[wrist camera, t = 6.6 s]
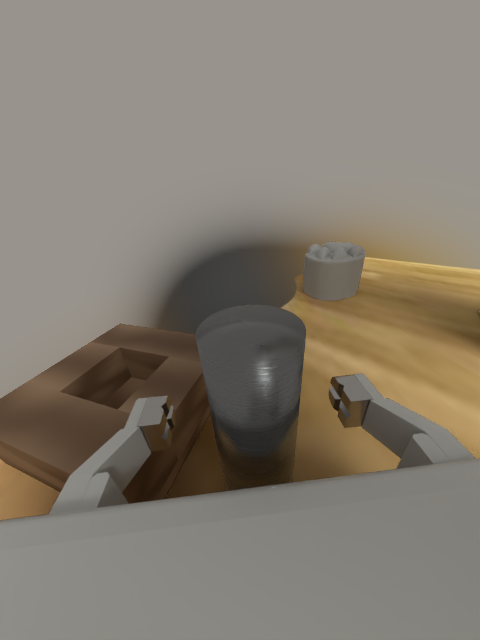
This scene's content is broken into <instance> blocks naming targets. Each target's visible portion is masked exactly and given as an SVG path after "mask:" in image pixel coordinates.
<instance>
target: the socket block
mask: <svg viewBox="0 0 480 640" xmlns="http://www.w3.org/2000/svg"><path fill="white" fill-rule="evenodd" d="M158 396H170V397H171V400H172V402H171V405H172V406H173V407H174V409H175V425H174V428H173V429H172V430H171V433H172V440H171V445H170V449H167V450H160V451H153V452H151V454H150V455H149V457H148V458H147V459H146V461H145V462H144V464H143V465H142V466H141V468H140V469H139V470H138V472H137V473H136V474H135V476H134V477H133V478H132V480H131V481H130V482H129V484H128V485H127V486H126V488H125V489H124V490H123V492H122V494H123V495H124V497H125V498H126V500H127V501H128V503H129V504H131V503H139V502H146V501H154V500H162V499H164V498H165V497H166V495H167V493H168V491H169V489H170V487H171V485H172V484H173V482H174V480H175V478H176V476H177V474H178V472H179V470H180V469H181V467H182V465H183V463H184V461H185V459H186V457H187V456H188V454H189V452H190V450H191V448H192V446H193V444H194V442H195V441H196V439H197V437H198V435H199V433H200V431H201V429H202V427H203V426H204V424H205V422H206V420H207V418H208V416H209V414H210V413H211V412H210V407H209V402H208V397H207V392H206V387H205V382H204V377H203V371H202V366H201V361H200V356H199V351H198V346H197V341H196V334H189V333H182V332H175V331H168V330H160V329H154V328H147V327H140V326H133V325H125V324H119V325H117V326H116V327H114V328H112V329H111V330H109V331H108V332H106V333H105V334H103V335H101V336H100V337H98V338H96V339H95V340H93V341H92V342H90V343H88V344H87V345H85V346H84V347H82V348H81V349H79V350H77V351H76V352H74V353H73V354H71V355H69V356H68V357H66V358H65V359H63V360H61V361H60V362H58V363H57V364H55V365H53V366H52V367H50V368H49V369H47V370H45V371H44V372H42V373H41V374H39V375H38V376H36V377H34V378H33V379H31V380H29V381H28V382H26V383H25V384H23V385H22V386H20V387H18V388H17V389H15V390H13V391H12V392H10V393H9V394H7V395H6V396H4V397H2V398H1V399H0V458H1V459H2V460H3V461H4V462H5V463H7V464H8V465H10V466H12V467H14V468H16V469H18V470H20V471H22V472H24V473H26V474H27V475H29V476H31V477H33V478H35V479H37V480H39V481H41V482H43V483H44V484H46V485H48V486H50V487H52V488H54V489H56V490H58V491H60V492H61V491H62V489H63V487H64V485H65V483H66V482H67V480H68V478H69V476H70V475H71V474H72V473H73V472H74V471H75V470H77V469H78V468H79V467H80V466H81V465H82V464H83V463H84V462H85V461H86V460H88V459H89V458H90V457H91V456H92V455H93V454H94V453H95V452H96V451H97V450H98V449H100V448H101V447H102V446H103V445H104V444H105V443H106V442H107V441H108V440H109V439H110V438H112V437H113V436H114V435H115V434H116V433H117V432H118V431H119V430H120V429H124V427H125V425H126V423H127V420H128V418H129V416H130V413H131V411H132V409H133V406H134V404H135V402H136V400H137V399H138V398H148V397H158Z"/></svg>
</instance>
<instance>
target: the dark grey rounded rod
mask: <svg viewBox="0 0 480 640" xmlns="http://www.w3.org/2000/svg"><path fill="white" fill-rule="evenodd" d="M305 339H306V328H305V325H304V323H303V322H302V321H301V319H300V318H298V317H297V316H296V315H294V314H293V313H291V312H289V311H287V310H284V309H281V308H278V307H273V306H267V305H242V306H236V307H231V308H227V309H224V310H221V311H219V312H216V313H214V314H212V315H211V316H209V317H208V318H206V319H205V320H204V321H203V322H202V323H201V324H200V325H199V327H198V329H197V332H196V341H197V346H198V351H199V356H200V361H201V366H202V371H203V377H204V382H205V387H206V392H207V397H208V402H209V407H210V412H211V417H212V422H213V427H214V432H215V437H216V442H217V447H218V452H219V457H220V462H221V467H222V472H223V477H224V482H225V487H226V491H231V490H239V489H246V488H254V487H262V486H269V485H277V484H285V483H292V479H293V468H294V457H295V447H296V436H297V425H298V414H299V403H300V393H301V382H302V371H303V360H304V349H305Z"/></svg>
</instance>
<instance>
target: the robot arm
mask: <svg viewBox="0 0 480 640" xmlns="http://www.w3.org/2000/svg"><path fill="white" fill-rule="evenodd" d="M478 312H479V313H480V309H479V311H478ZM330 383H331V384H332V387H331V388H330V389H329V400H330V402H331V405H332V407H333V408H334V409H335V410H337V411H338V418H339V419H340V421H341V423H342V425H343V426H344V428H349V427H359V426H362V428H363V429H365V430H366V431H367V432H368V433H370V434H371V435H372V436H373V437H375V438H376V439H377V440H378V441H380V442H381V443H382V444H383V445H385V446H386V447H387V448H388V449H390V450H391V451H392V452H393V453H395V454H396V455H397V456H398V457H400V458H401V460H400V462H399V464H398V466H397V468H396V469H393V470H385V471H377V472H370V473H362V474H354V475H347V476H339V477H331V478H323V479H316V480H308V481H300V482H292V483H285V484H277V485H269V486H262V487H254V488H246V489H239V490H231V491H223V492H216V493H208V494H200V495H192V496H185V497H177V498H169V499H162V500H154V501H146V502H139V503H131V504H129V503H128V501H127V500H126V498H125V497H124V495H123V494H122V492H123V490H124V489H125V488H126V486H127V485H128V484H129V482H130V481H131V480H132V478H133V477H134V476H135V474H136V473H137V472H138V470H139V469H140V468H141V466H142V465H143V464H144V462H145V461H146V459H147V458H148V457H149V455H150V454H151V452H153V451H160V450H167V449H170V445H171V440H172V433H171V430H172V429H173V428H174V425H175V409H174V407H173V406H172V405H171V402H172V400H171V397H170V396H158V397H148V398H138V399H137V400H136V402H135V404H134V406H133V409H132V411H131V413H130V416H129V418H128V420H127V423H126V425H125V427H124V429H120V430H119V431H118V432H117V433H116V434H115V435H114V436H113V437H112V438H110V439H109V440H108V441H107V442H106V443H105V444H104V445H103V446H102V447H101V448H100V449H98V450H97V451H96V452H95V453H94V454H93V455H92V456H91V457H90V458H89V459H88V460H86V461H85V462H84V463H83V464H82V465H81V466H80V467H79V468H78V469H77V470H75V471H74V472H73V473H72V474H71V475H70V476H69V478H68V480H67V482H66V483H65V485H64V487H63V489H62V491H61V493H60V494H59V496H58V498H57V500H56V502H55V503H54V505H53V507H52V509H51V511H50V512H49V514H46V515H38V516H30V517H22V518H15V519H7V520H0V640H480V458H477V459H476V458H475V457H474V456H473V455H472V454H471V453H470V452H469V451H468V450H467V449H466V448H465V447H464V446H463V445H462V444H461V443H460V442H459V441H458V440H457V439H456V438H455V437H454V436H453V435H452V434H451V433H450V432H449V431H448V430H447V429H445V428H443V427H441V426H440V425H438V424H436V423H434V422H432V421H430V420H428V419H426V418H424V417H423V416H421V415H419V414H417V413H415V412H413V411H411V410H409V409H407V408H406V407H404V406H402V405H400V404H398V403H396V402H394V401H392V400H390V399H389V398H384V397H383V396H382V395H381V394H380V392H379V391H378V390H377V389H376V388H375V387H374V385H373V384H372V383H371V382H370V381H369V379H368V378H367V377H366V376H365V375H364V374H362V373H361V374H353V375H344V376H336V377H332V378H331V382H330Z"/></svg>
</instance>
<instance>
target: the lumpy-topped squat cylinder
mask: <svg viewBox="0 0 480 640" xmlns="http://www.w3.org/2000/svg"><path fill="white" fill-rule="evenodd" d="M364 258H365V250H364V249H363V248H362V247H361V246H359V245H354V244H352V243H348V242H342V243H338V242H327V243H325V244H324V245H322V246H321V247H320V246H319V245H318V244H313V245H311V246H310V247H309V249H308V252H307V253H306V255H305V265H304V277H303V291H304V292H305V293H306V294H307V295H308V296H310V297H312V298H314V299H317V300H323V301H335V300H342V299H346V298H349V297H352V296H354V295H355V294H356V293H357V291H358V288H359V283H360V278H361V273H362V268H363V263H364Z"/></svg>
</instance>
